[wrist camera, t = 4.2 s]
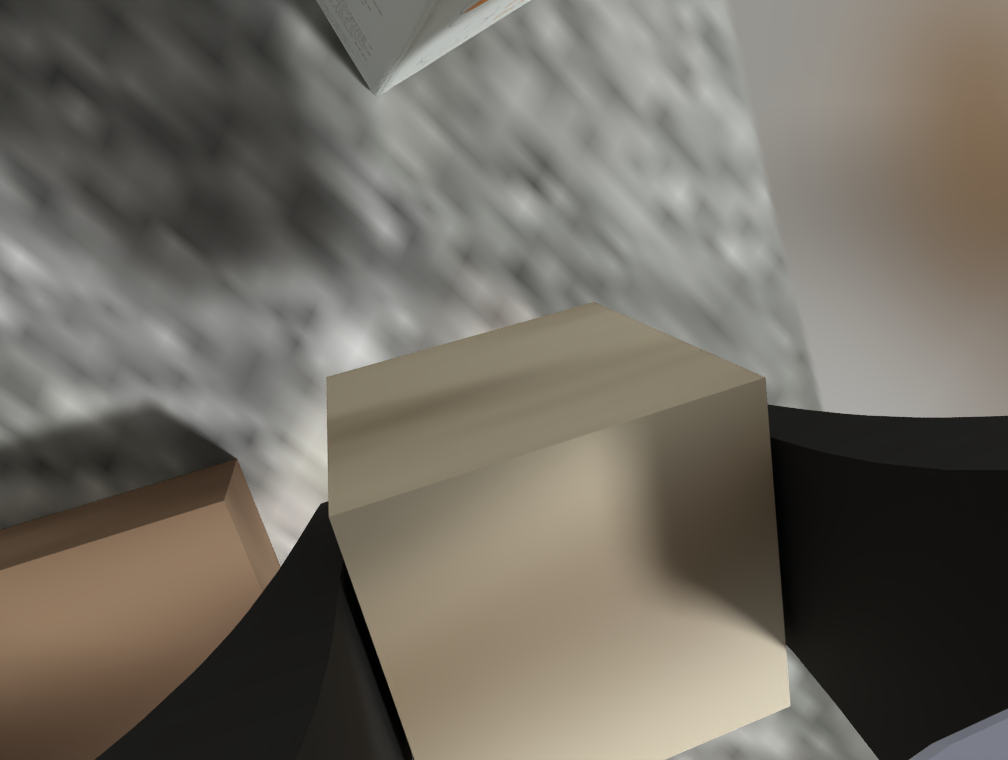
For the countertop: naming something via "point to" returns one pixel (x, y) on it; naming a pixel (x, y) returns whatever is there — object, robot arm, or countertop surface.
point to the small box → (407, 32)
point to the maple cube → (562, 540)
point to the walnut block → (121, 607)
